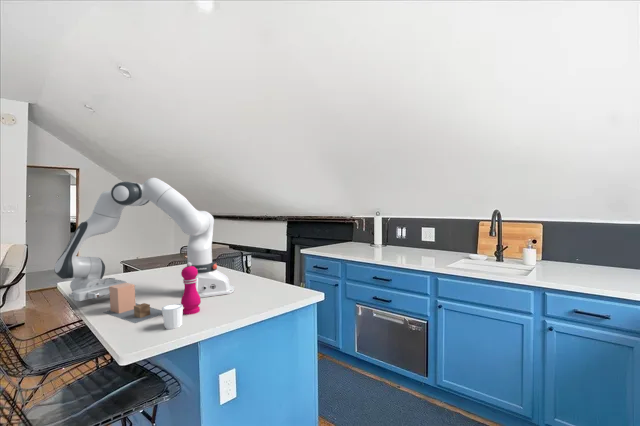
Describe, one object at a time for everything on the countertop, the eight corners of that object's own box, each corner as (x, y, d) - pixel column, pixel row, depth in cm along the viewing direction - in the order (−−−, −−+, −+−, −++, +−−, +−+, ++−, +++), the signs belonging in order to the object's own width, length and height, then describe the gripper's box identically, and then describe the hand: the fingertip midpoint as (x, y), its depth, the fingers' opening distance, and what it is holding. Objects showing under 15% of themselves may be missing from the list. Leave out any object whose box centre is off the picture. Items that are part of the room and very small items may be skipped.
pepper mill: (189, 317, 126) (186, 264, 125) (177, 314, 130) (175, 263, 129) (205, 311, 132) (202, 261, 131) (193, 308, 136) (191, 260, 135)
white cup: (167, 323, 121) (166, 304, 121) (186, 321, 121) (185, 303, 121) (159, 330, 114) (158, 310, 114) (180, 329, 115) (179, 309, 114)
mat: (102, 313, 134) (102, 312, 134) (135, 304, 144) (135, 303, 144) (135, 324, 121) (135, 323, 121) (168, 313, 131) (168, 312, 131)
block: (144, 313, 131) (144, 303, 131) (150, 314, 129) (149, 304, 129) (134, 316, 128) (133, 305, 128) (140, 318, 126) (139, 307, 126)
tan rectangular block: (127, 306, 141) (126, 282, 140) (135, 308, 137) (134, 284, 137) (110, 310, 135) (109, 286, 135) (119, 313, 132) (117, 288, 131)
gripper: (66, 287, 140) (81, 291, 133) (117, 276, 158) (133, 280, 150) (67, 302, 141) (82, 307, 133) (118, 290, 158) (133, 293, 150)
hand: (109, 292), depth 142 cm, fingers open, 8 cm apart
